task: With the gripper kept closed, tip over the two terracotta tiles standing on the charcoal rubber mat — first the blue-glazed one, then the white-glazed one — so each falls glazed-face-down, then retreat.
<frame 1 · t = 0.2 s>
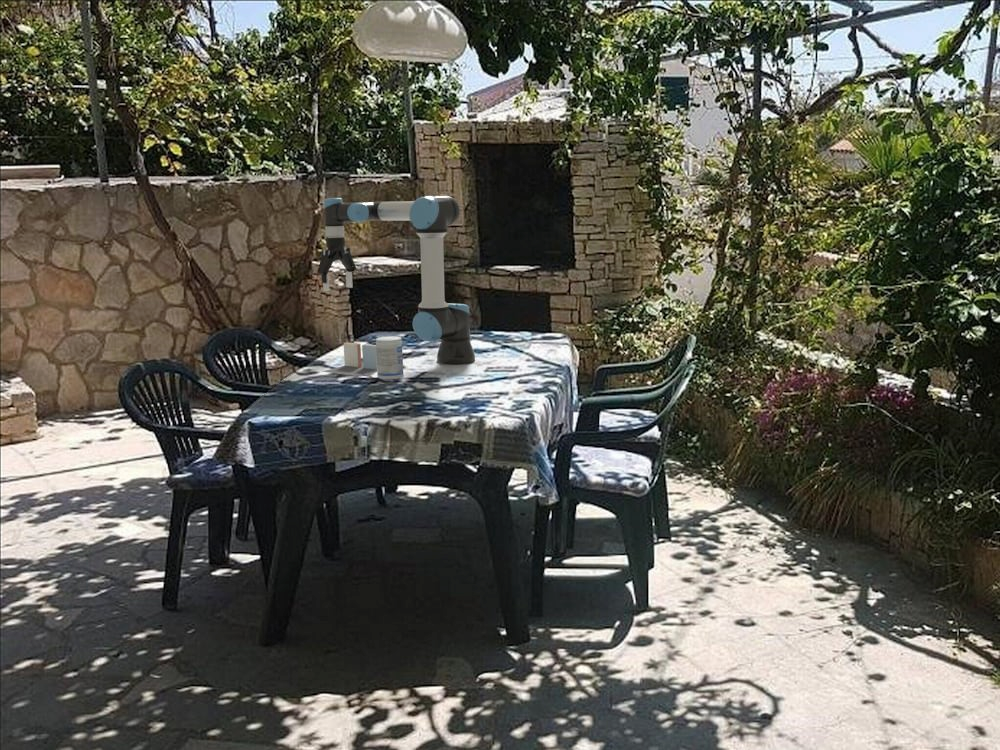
hand: (338, 289, 360), 28 cm above the table, fingers open, 13 cm apart
white glazed tile: (353, 366, 343), resting on mat
blue glazed tile: (371, 368, 338), resting on mat
mat: (358, 369, 339), on the table
supplement tub: (390, 378, 323), on the table
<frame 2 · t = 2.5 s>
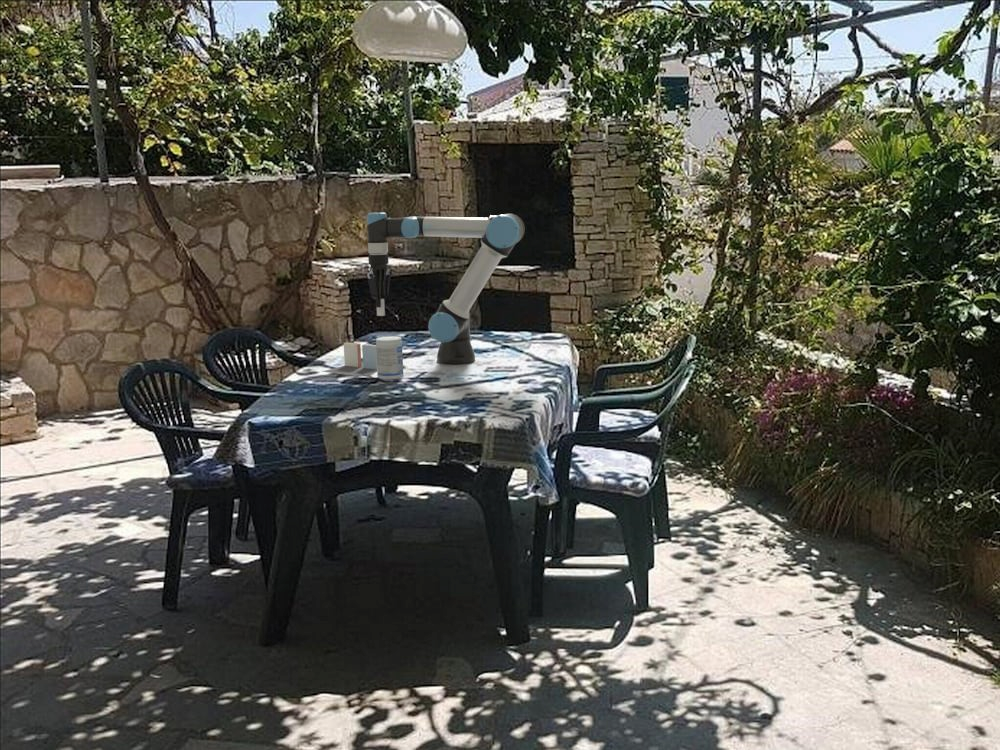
hand: (380, 315, 339), 20 cm above the table, fingers closed
nothing on the table moved.
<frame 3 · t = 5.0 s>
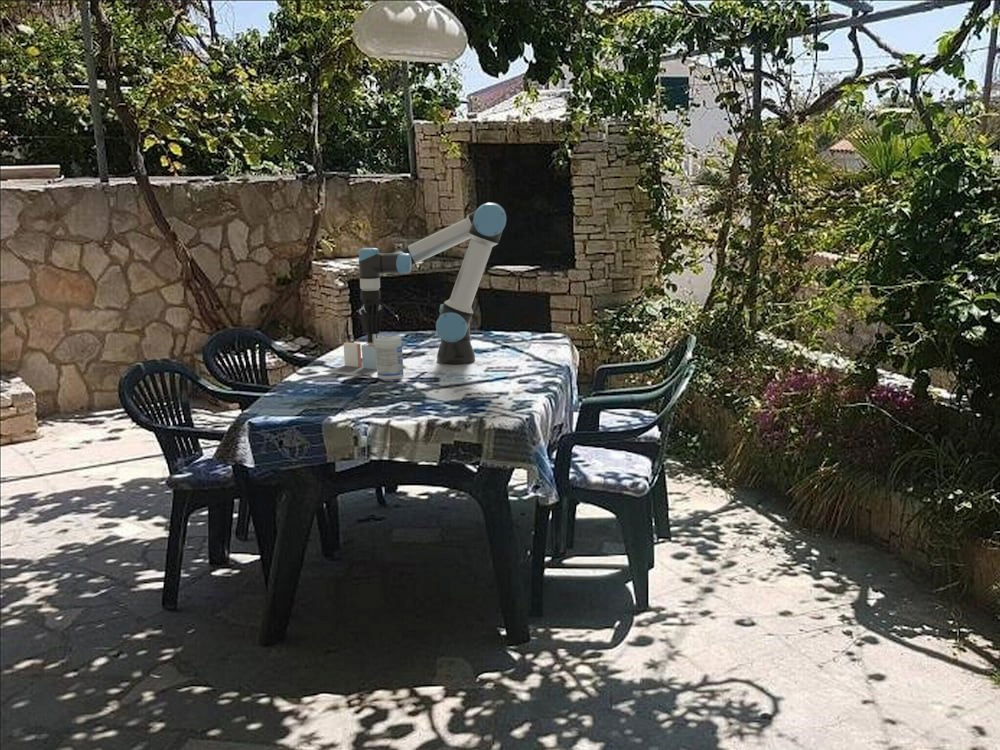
hand: (372, 350, 338), 7 cm above the table, fingers closed
blue glazed tile: (371, 368, 338), resting on mat, touching gripper
everything else where it was.
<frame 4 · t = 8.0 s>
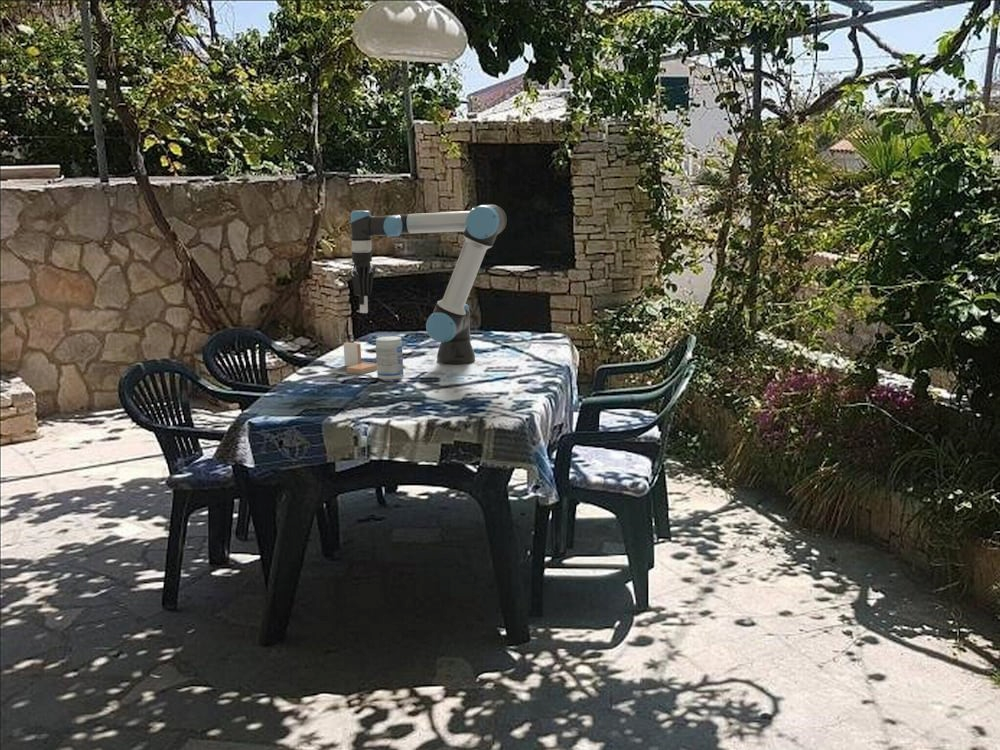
hand: (364, 312, 342), 21 cm above the table, fingers closed
blue glazed tile: (369, 366, 337), point 1 cm above the table, tilted 90°, touching mat
everything else where it was.
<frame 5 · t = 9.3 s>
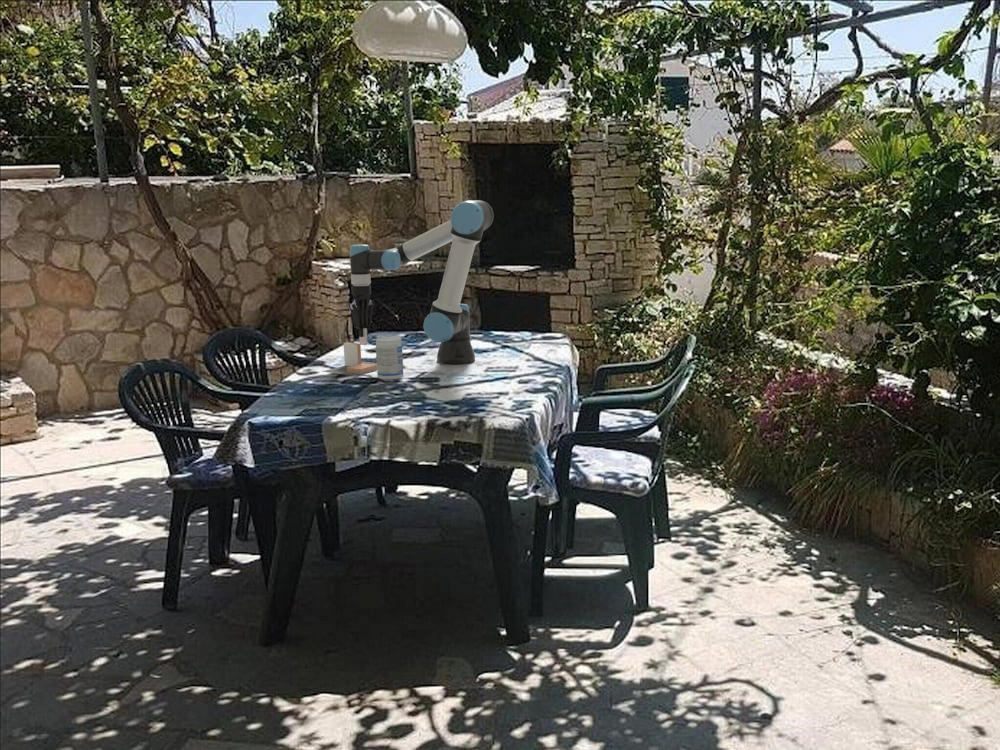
hand: (363, 344, 347), 8 cm above the table, fingers closed
nothing on the table moved.
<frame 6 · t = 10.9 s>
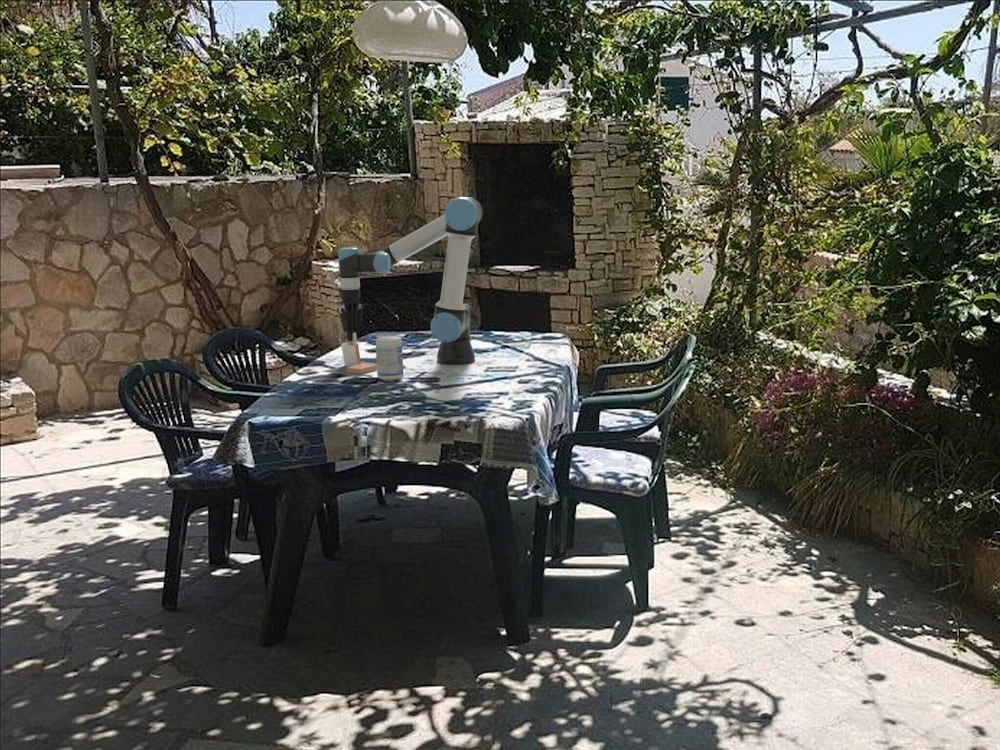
hand: (353, 349, 342), 7 cm above the table, fingers closed
white glazed tile: (353, 365, 343), point 1 cm above the table, tilted 9°, touching mat
everything else where it was.
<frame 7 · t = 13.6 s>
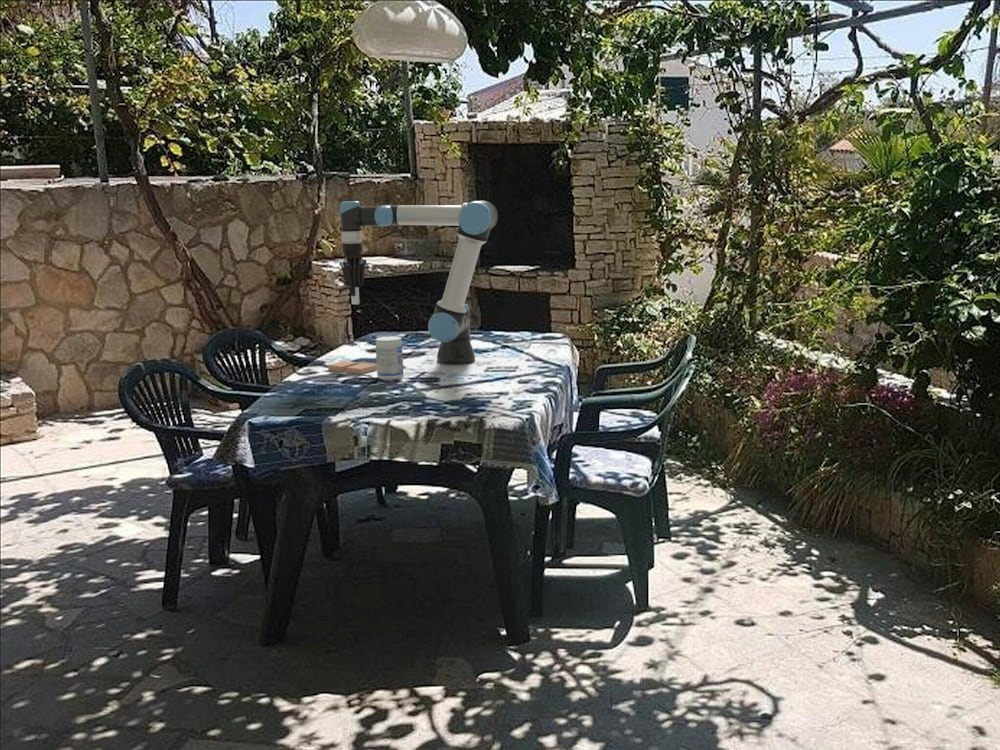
hand: (355, 304, 340), 24 cm above the table, fingers closed
white glazed tile: (351, 364, 342), point 1 cm above the table, tilted 90°, touching mat
everything else where it was.
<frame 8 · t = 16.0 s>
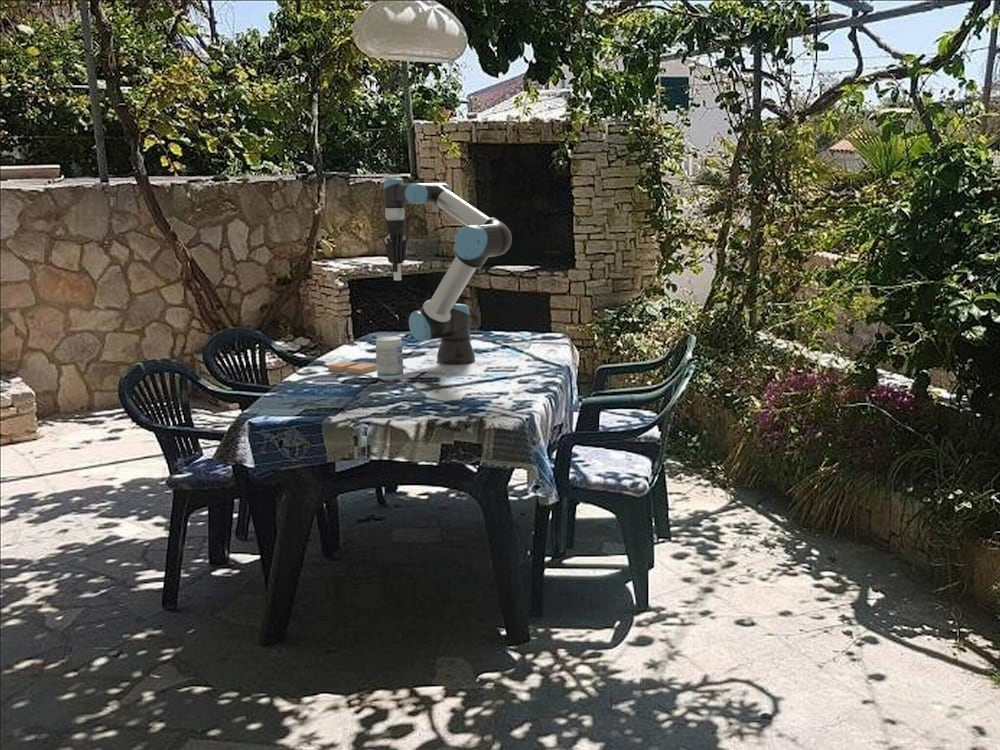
hand: (397, 280, 347), 32 cm above the table, fingers closed
nothing on the table moved.
at the end: blue glazed tile tilted 90°; white glazed tile tilted 90°; blue glazed tile inside the target area (3.0 cm from its centre), point 1.4 cm above the table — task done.
